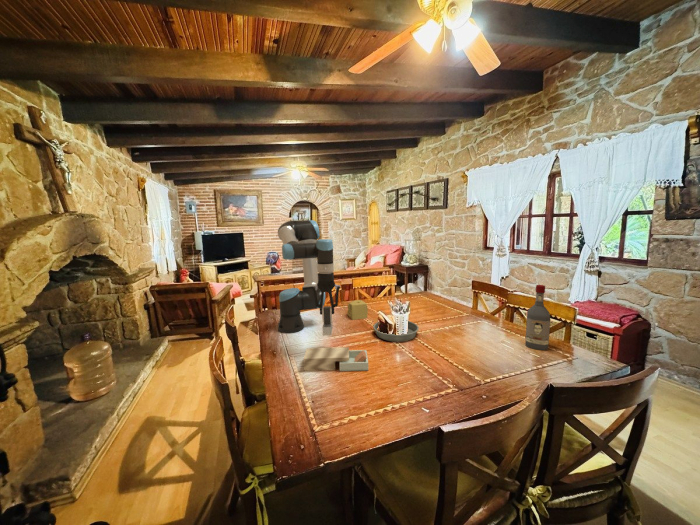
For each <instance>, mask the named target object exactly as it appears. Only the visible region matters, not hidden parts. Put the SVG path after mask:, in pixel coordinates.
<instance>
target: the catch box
mask: <svg viewBox="0 0 700 525" xmlns="http://www.w3.org/2000/svg"><path fill="white" fill-rule="evenodd" d="M362 350H363V351H364V352H365V353H366V358H367V359H365V360H364V361H363V362H355V357H356V356H357V355H358V354H359V353H360V352H361V351H362ZM362 371H363V372H367V371H369V357H368V351H367V349H356V350H355V349H354V350H353V349H352V350H351V349H349V361H339V372H362Z"/></svg>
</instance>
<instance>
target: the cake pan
mask: <svg viewBox="0 0 700 525" xmlns="http://www.w3.org/2000/svg"><path fill="white" fill-rule="evenodd" d="M407 321H408V332H407V334H401V335H395V334H387V333H383V332H380V331H378V330H377V328H378V322H379V321H378V322H376V323H374V324H373V326H372V327H373V329H374V331H375V333H376V336H377V337H378V338H380V340H381V339H382V340H385V341H389V342H398V343H399V342H407V341H411V340H412V339H415V338H416V334H417V332H418V331H419V329H420V326H419V325H418V324H417V323H415V322H412V321H409V320H407Z"/></svg>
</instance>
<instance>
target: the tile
mask: <svg viewBox="0 0 700 525" xmlns="http://www.w3.org/2000/svg"><path fill="white" fill-rule="evenodd" d="M361 350H362V351H361V352H360V353H359V354H358V355H357V356H356V357H355V362H363V361H364V360H365V359H367V358H366V353H365V352H364V351H363V350H364V349H361Z"/></svg>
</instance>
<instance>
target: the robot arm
mask: <svg viewBox="0 0 700 525" xmlns="http://www.w3.org/2000/svg"><path fill="white" fill-rule="evenodd" d="M277 236H278V239H279V240H280V241H281V242H282V245H281V254H282V255H281V256H282V259H283V260H289V261H291V260H302V261H301V262H302V270H303V273H302V274H303V281H304V282H303V283H304V284H303V285H302V287H301V288H302V289H301V290H300V289H299V288H298V287H291V288H287V289H284V290H282V291H280V293H279V296H278V297H279V298H278V299H279V300H278V301H279V317H280V318H279V321H278V324H277V331H278V332H280V333H283V334H293V333H298V332H300V331H302V330H304V329H305V323H304V320H303V317H302V315H301V311H307V310H317V309H319V314H320V315H322V323H324V306H325V303H326V293H328V296H329V301H330V302H329V303H330V322H332V323H333V315H334V314H335V308H336V307H338V306H339V293H340V292H339V291H340V288H341V285H340V284H336V282H335V273H334V270H335V266H334V244H333V240H332V239H331V238H320V229H319V225H318V223H317V221H316V220H312V219H311V220H310V219H306V220H305V219H304V220H288V221H285V222H283V223H282V224H281V225H280V226H278V230H277ZM319 238H320V239H319ZM333 289H335V300H334V298H333V293H332V291H333ZM334 301H335V302H334Z"/></svg>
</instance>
